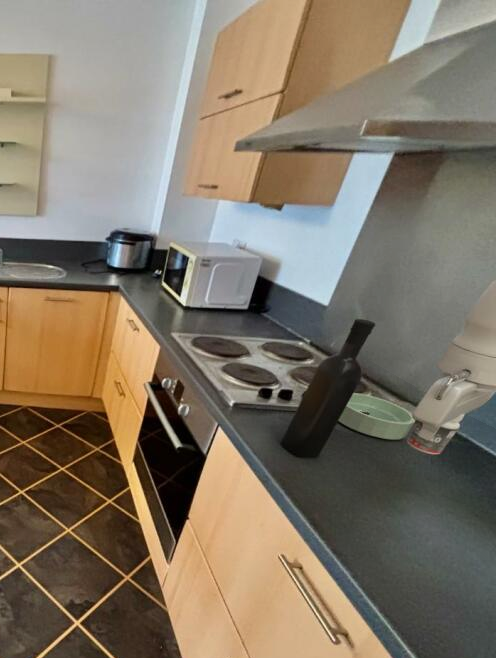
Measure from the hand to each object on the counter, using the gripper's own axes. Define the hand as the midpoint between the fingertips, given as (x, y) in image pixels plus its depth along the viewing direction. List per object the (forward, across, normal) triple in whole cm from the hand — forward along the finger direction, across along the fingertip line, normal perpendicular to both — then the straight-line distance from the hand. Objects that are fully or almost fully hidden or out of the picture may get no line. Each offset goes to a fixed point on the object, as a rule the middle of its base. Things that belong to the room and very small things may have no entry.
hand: (432, 433), depth 76 cm
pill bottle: (+3, 0, 0) cm, 3 cm away
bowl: (+13, +23, +15) cm, 30 cm away
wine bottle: (+13, -6, +15) cm, 21 cm away
